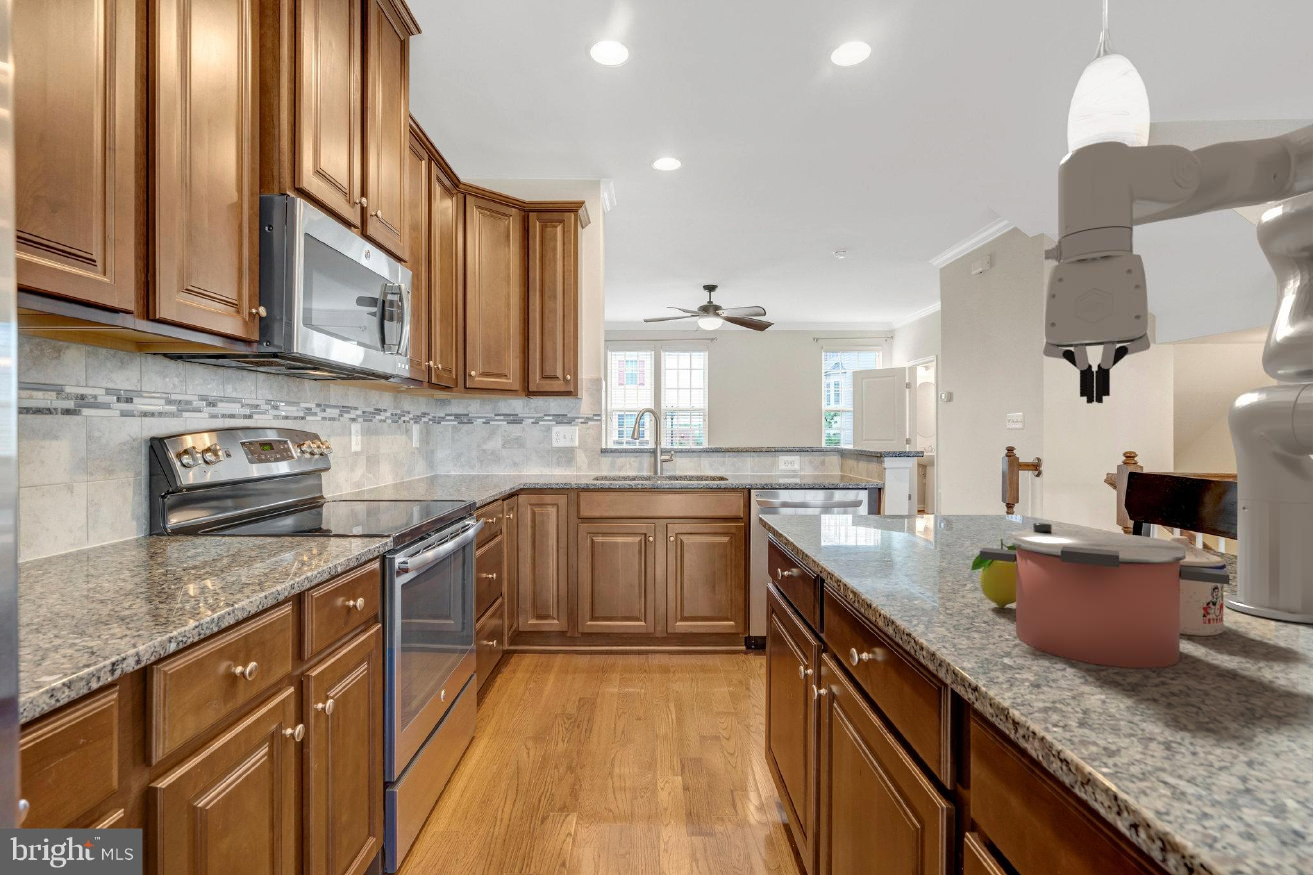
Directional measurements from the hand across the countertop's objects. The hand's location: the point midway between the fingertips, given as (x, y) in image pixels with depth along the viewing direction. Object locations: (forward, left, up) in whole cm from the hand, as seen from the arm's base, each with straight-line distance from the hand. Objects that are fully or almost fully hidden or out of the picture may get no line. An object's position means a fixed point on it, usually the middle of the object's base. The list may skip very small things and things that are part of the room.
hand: (1094, 402), depth 77 cm
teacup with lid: (-14, +9, -29) cm, 34 cm away
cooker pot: (+2, 0, -29) cm, 29 cm away
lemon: (-9, -11, -29) cm, 32 cm away
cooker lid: (+4, 0, -18) cm, 18 cm away
